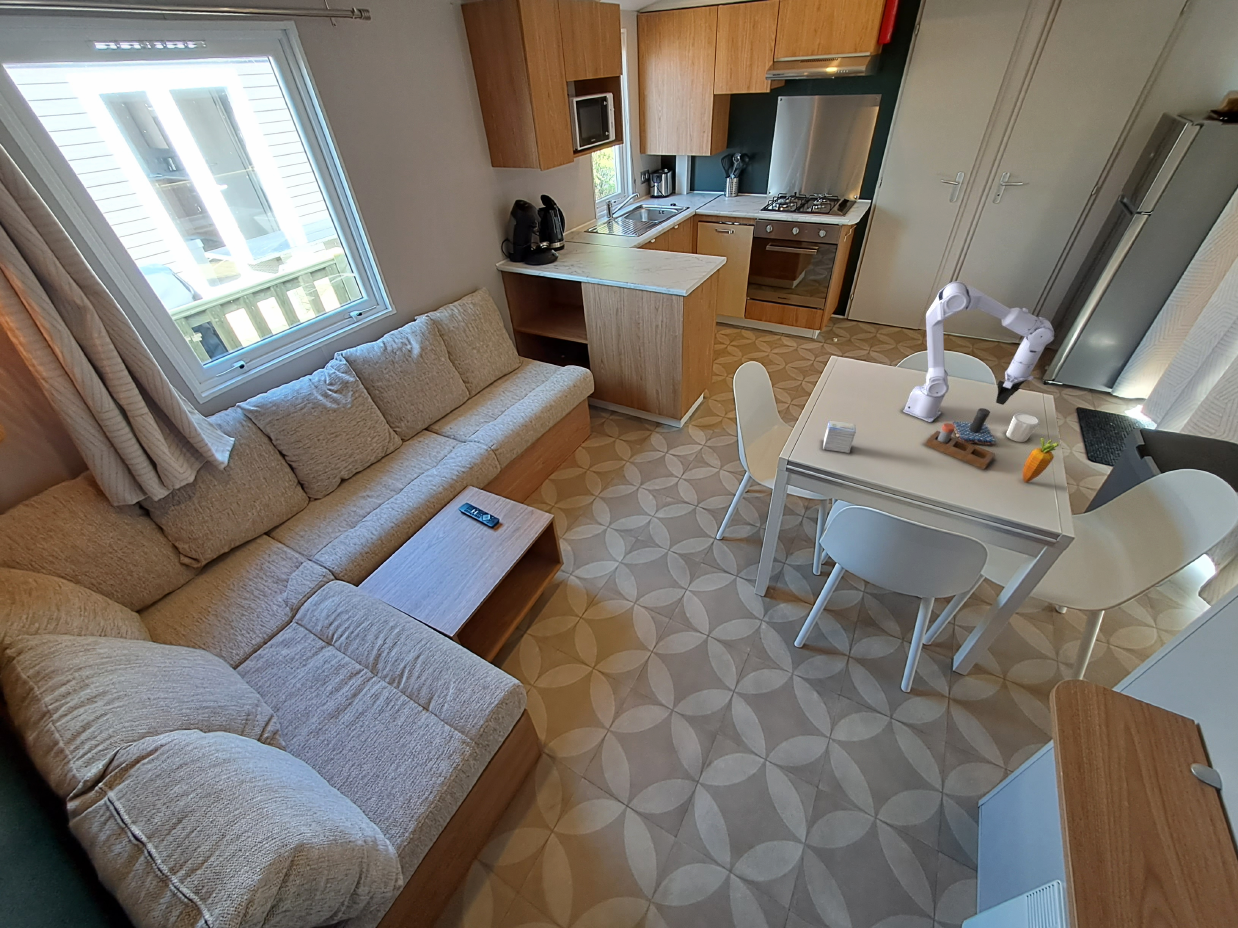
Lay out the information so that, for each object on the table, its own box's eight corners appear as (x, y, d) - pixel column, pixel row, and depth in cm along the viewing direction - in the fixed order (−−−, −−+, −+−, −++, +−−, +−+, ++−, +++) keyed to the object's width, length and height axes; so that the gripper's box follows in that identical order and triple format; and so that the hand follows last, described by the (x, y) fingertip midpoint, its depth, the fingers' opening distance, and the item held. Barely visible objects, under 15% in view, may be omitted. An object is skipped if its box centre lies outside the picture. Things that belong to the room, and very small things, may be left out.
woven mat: (984, 427, 162) (986, 422, 161) (995, 446, 155) (998, 441, 153) (949, 424, 165) (951, 419, 163) (958, 443, 157) (960, 438, 155)
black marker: (967, 430, 158) (976, 411, 154) (971, 426, 160) (980, 407, 155) (977, 434, 157) (988, 415, 152) (981, 430, 158) (991, 410, 153)
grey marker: (933, 445, 157) (941, 426, 152) (937, 440, 158) (946, 421, 154) (943, 449, 155) (952, 430, 150) (947, 445, 156) (957, 426, 152)
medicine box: (848, 445, 159) (855, 423, 153) (849, 453, 156) (856, 431, 150) (823, 441, 161) (829, 419, 156) (822, 449, 158) (828, 427, 152)
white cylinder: (1033, 443, 155) (1044, 425, 150) (1008, 442, 156) (1019, 424, 152) (1024, 431, 160) (1034, 413, 155) (1000, 429, 161) (1010, 411, 157)
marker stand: (925, 445, 157) (927, 439, 155) (934, 436, 160) (937, 430, 159) (983, 469, 147) (987, 463, 145) (992, 459, 150) (995, 453, 148)
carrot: (1010, 477, 144) (1035, 436, 134) (1027, 475, 144) (1053, 434, 134) (1022, 488, 140) (1049, 447, 130) (1039, 486, 140) (1067, 445, 131)
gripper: (1031, 373, 142) (1010, 412, 151) (1048, 356, 149) (1026, 394, 158) (1004, 365, 146) (984, 404, 155) (1021, 349, 153) (1002, 386, 162)
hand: (1004, 398), depth 157 cm, fingers open, 7 cm apart
